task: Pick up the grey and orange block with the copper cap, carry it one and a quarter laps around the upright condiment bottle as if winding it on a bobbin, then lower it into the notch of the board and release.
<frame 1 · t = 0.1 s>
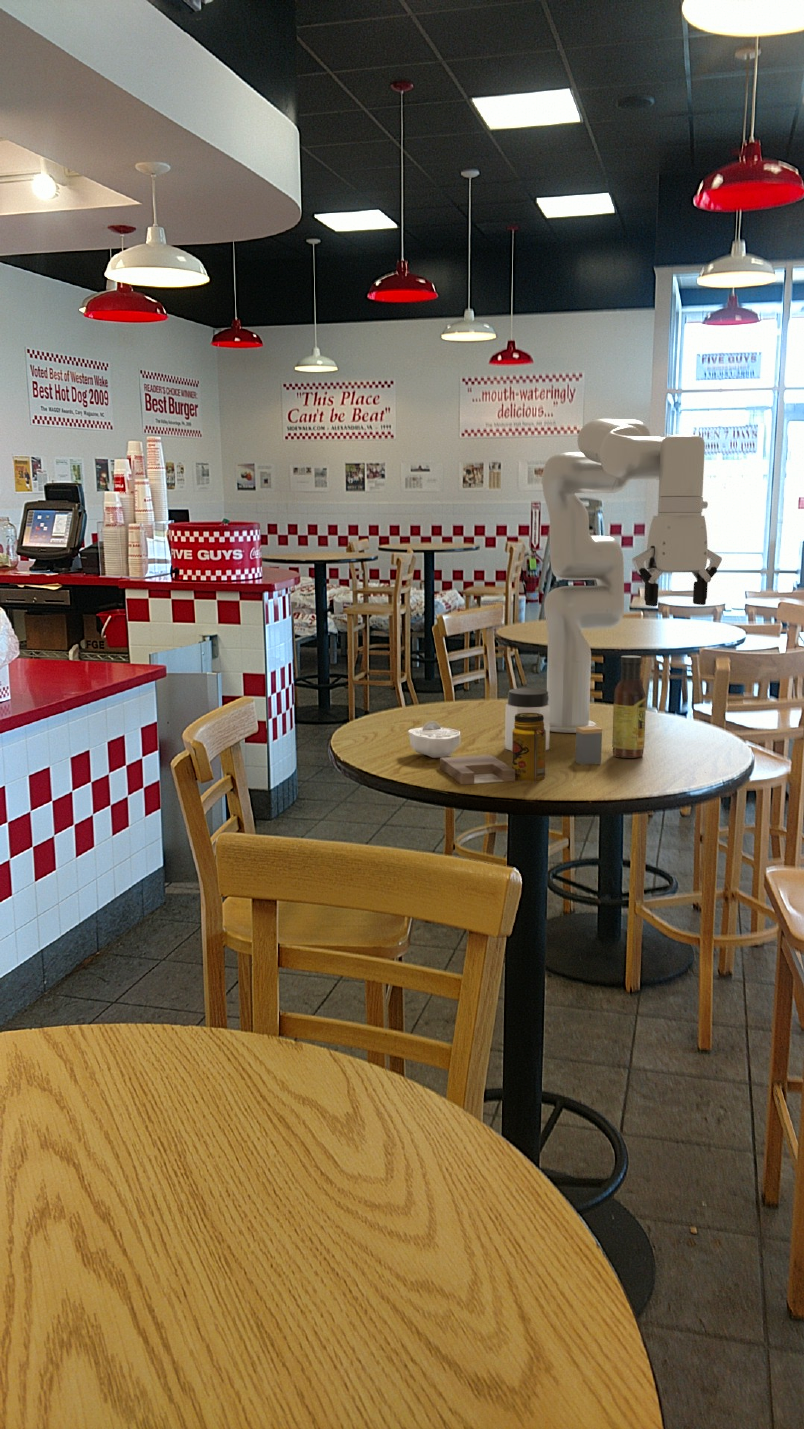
hand: (675, 605, 191), 31 cm above the table, tool pointing down, fingers open, 9 cm apart
notched board: (476, 774, 196), on the table
grey and orange block: (588, 762, 206), on the table
sauce bottle: (627, 756, 212), on the table
cell model: (434, 757, 211), on the table
jar: (526, 750, 217), on the table
condiment: (531, 779, 195), on the table, touching notched board
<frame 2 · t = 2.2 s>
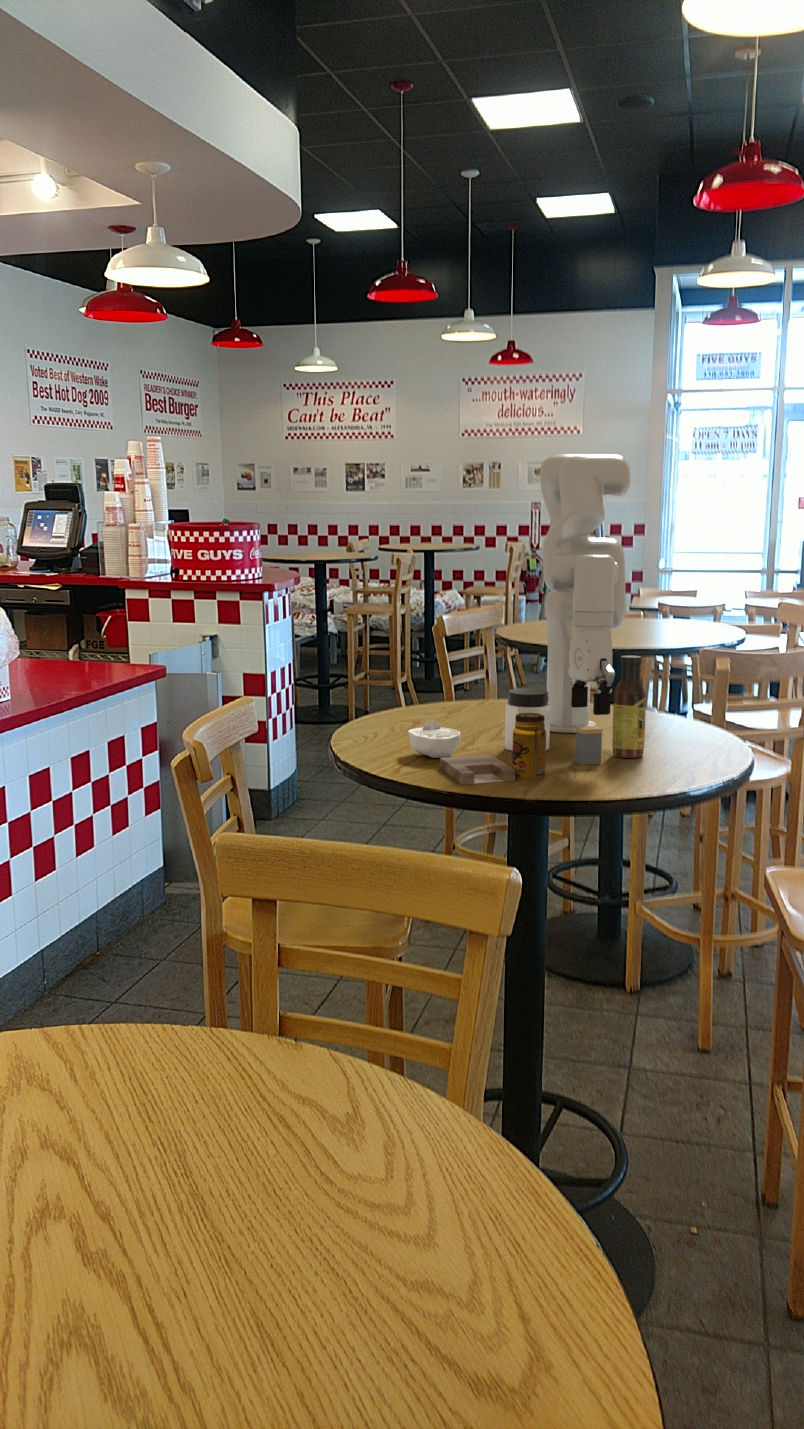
hand: (590, 710, 203), 10 cm above the table, tool pointing down, fingers open, 9 cm apart
nothing on the table moved.
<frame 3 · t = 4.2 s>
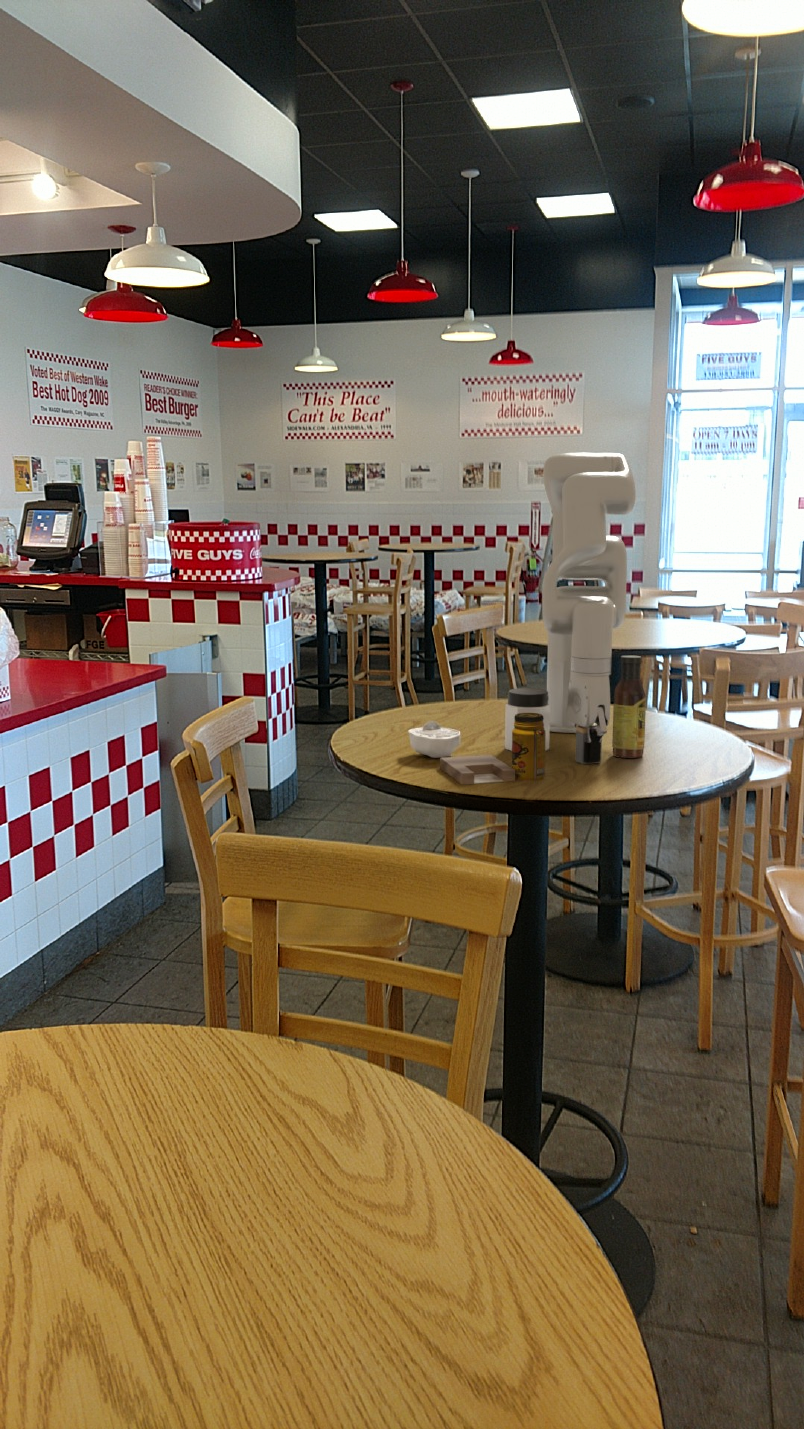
hand: (587, 759, 206), 1 cm above the table, tool pointing down, fingers closed on grey and orange block, 2 cm apart
grey and orange block: (587, 761, 206), on the table, touching gripper
everything else where it was.
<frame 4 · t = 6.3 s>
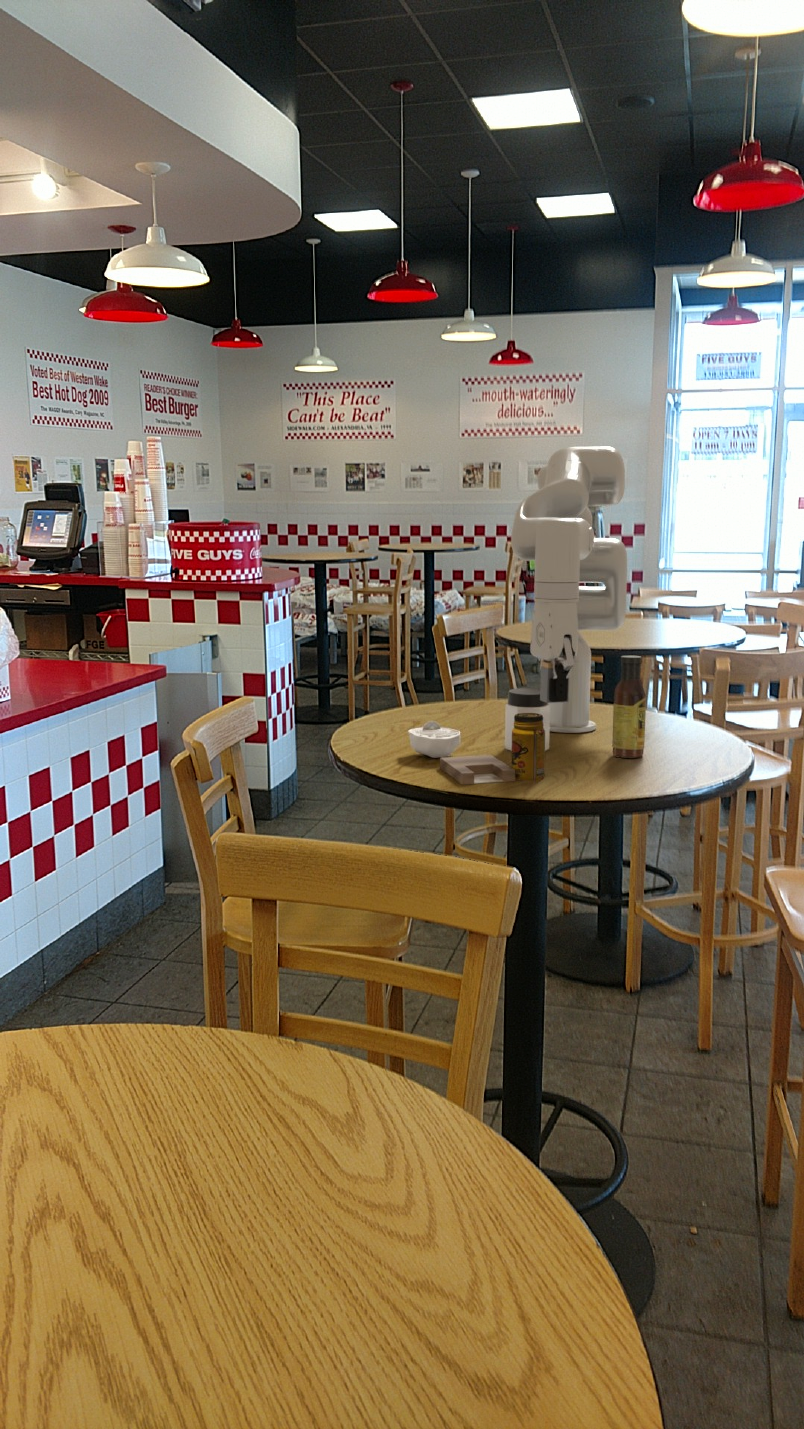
hand: (553, 698, 184), 16 cm above the table, tool pointing down, fingers closed on grey and orange block, 3 cm apart
grey and orange block: (554, 701, 184), point 15 cm above the table, touching gripper
everything else where it was.
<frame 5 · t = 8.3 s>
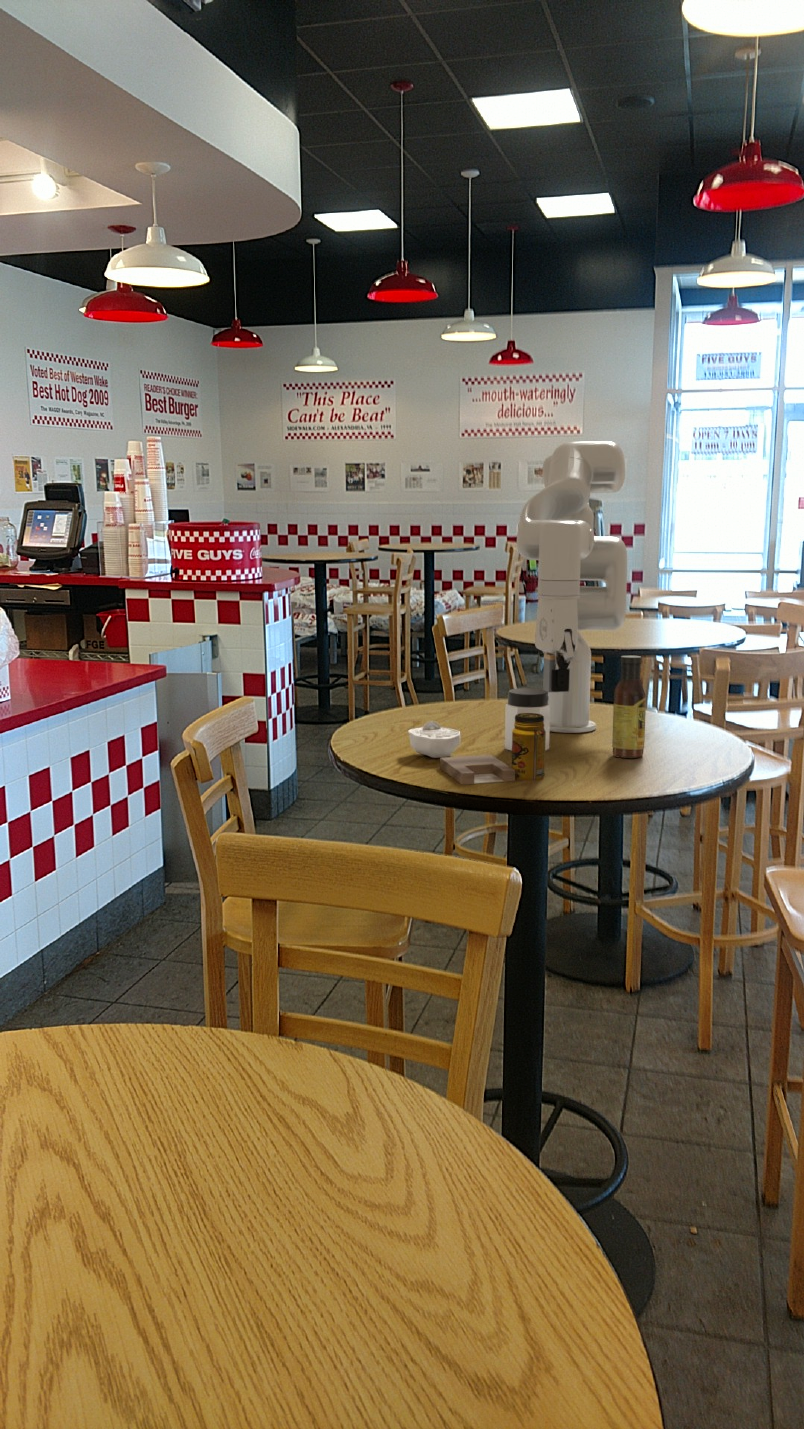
hand: (556, 688, 197), 15 cm above the table, tool pointing down, fingers closed on grey and orange block, 3 cm apart
grey and orange block: (556, 690, 198), point 15 cm above the table, touching gripper
everything else where it was.
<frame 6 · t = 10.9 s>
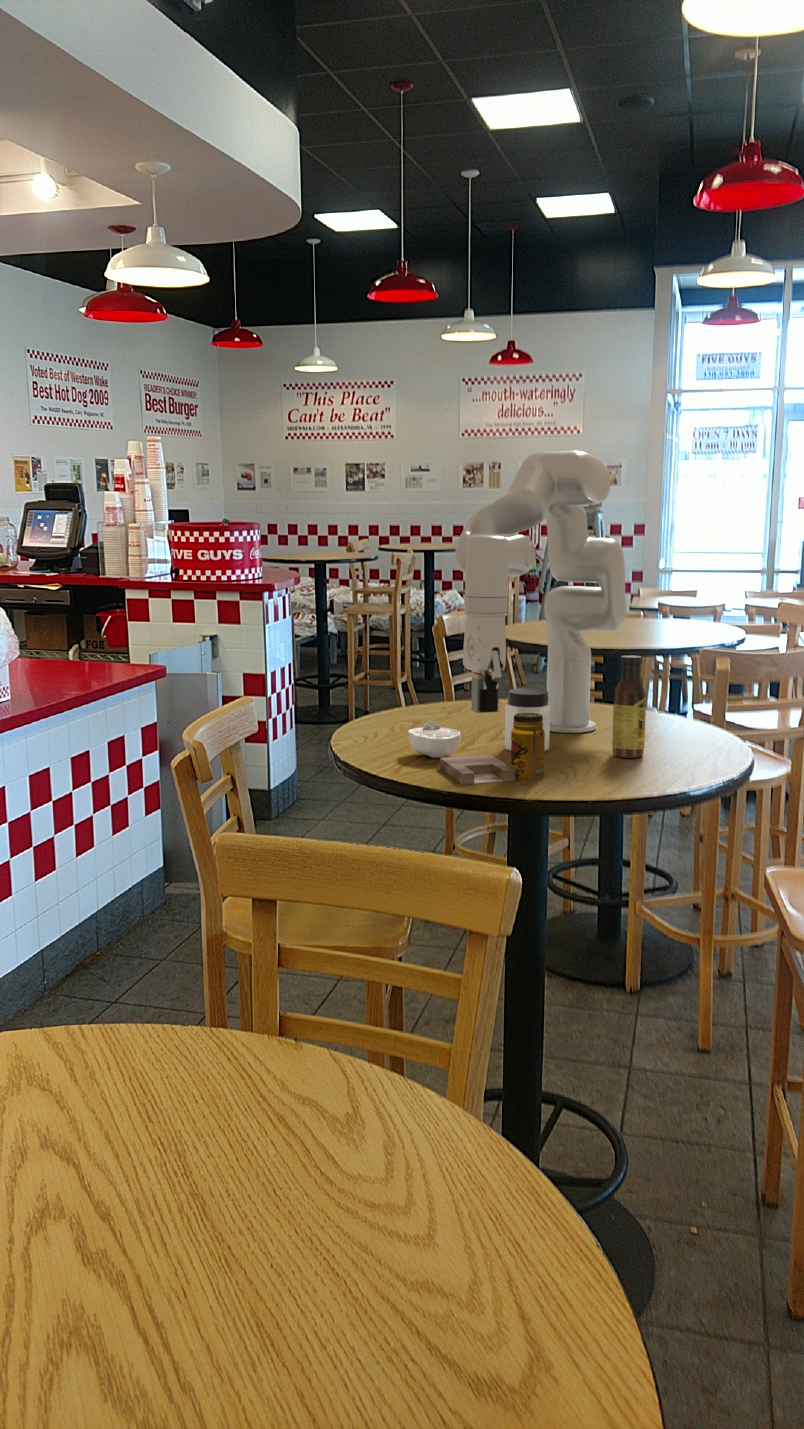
hand: (484, 709, 190), 13 cm above the table, tool pointing down, fingers closed on grey and orange block, 3 cm apart
grey and orange block: (484, 710, 190), point 13 cm above the table, touching gripper
everything else where it was.
when the fingers open (2 cm above the table, at t = 13.0 s): grey and orange block drops 1 cm, resting on notched board.
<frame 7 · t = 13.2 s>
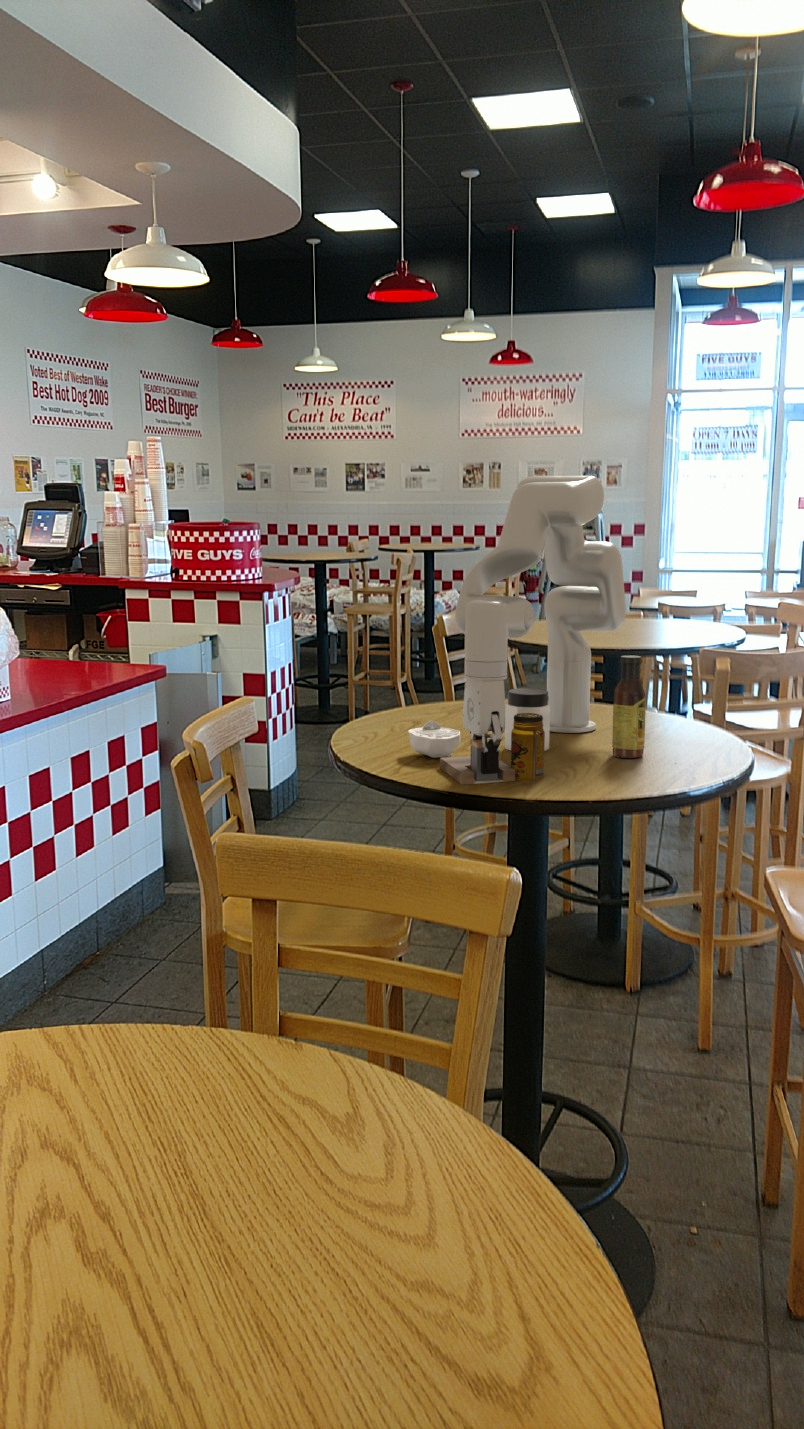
hand: (484, 769, 192), 2 cm above the table, tool pointing down, fingers open, 4 cm apart
grey and orange block: (484, 778, 193), resting on notched board
everything else where it was.
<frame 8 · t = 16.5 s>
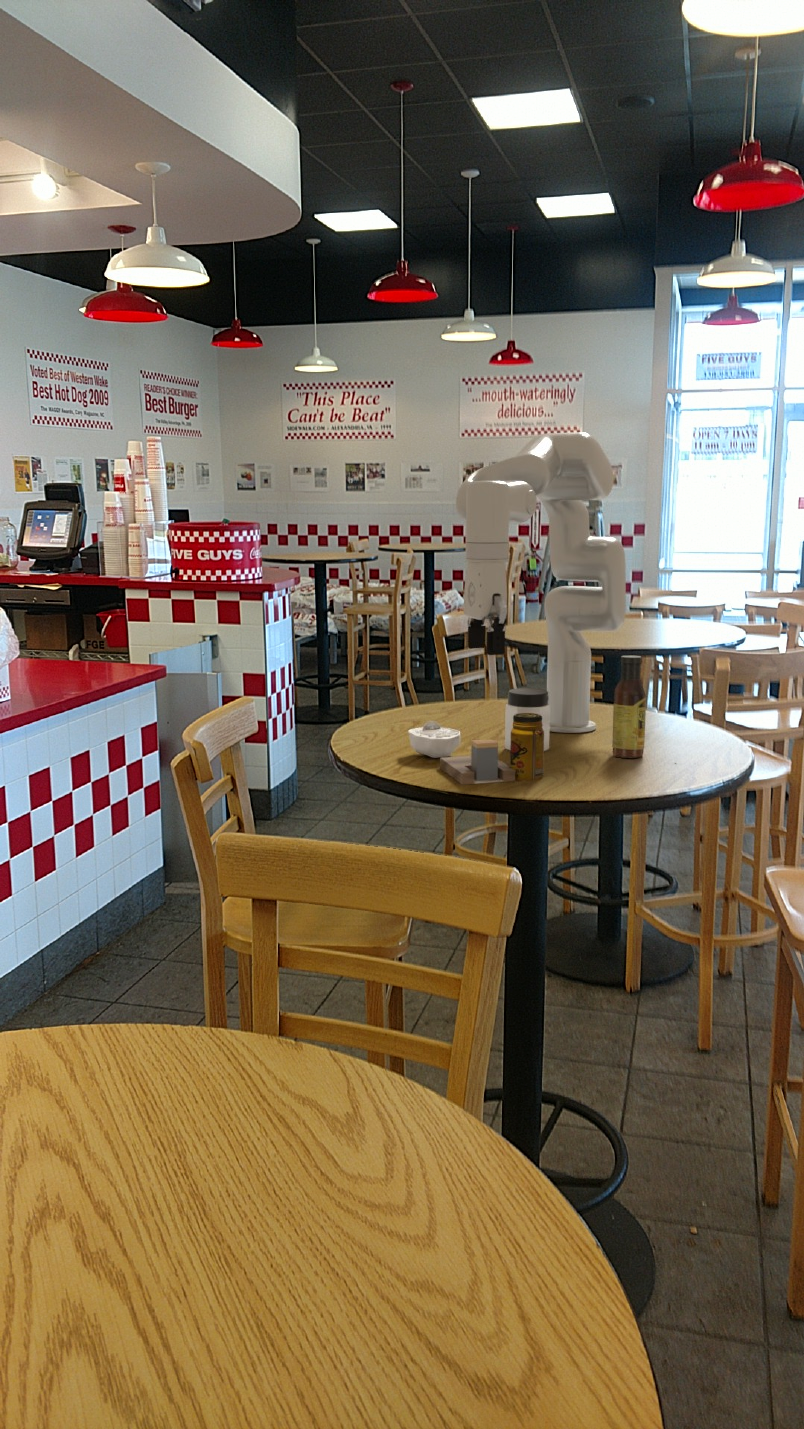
hand: (485, 651, 188), 23 cm above the table, tool pointing down, fingers open, 9 cm apart
nothing on the table moved.
at the end: grey and orange block 0.2 cm from the target spot, resting on notched board; grey and orange block tilted 0°; the gripper is holding nothing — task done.
